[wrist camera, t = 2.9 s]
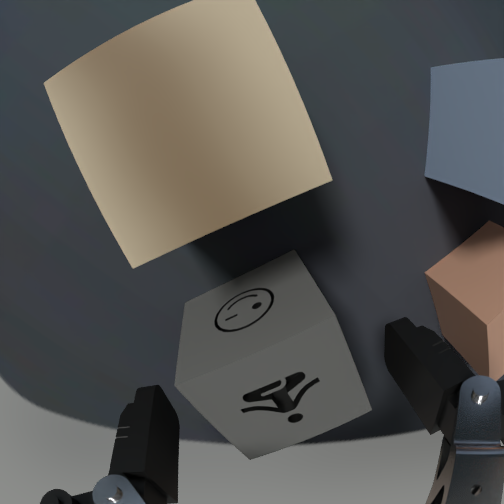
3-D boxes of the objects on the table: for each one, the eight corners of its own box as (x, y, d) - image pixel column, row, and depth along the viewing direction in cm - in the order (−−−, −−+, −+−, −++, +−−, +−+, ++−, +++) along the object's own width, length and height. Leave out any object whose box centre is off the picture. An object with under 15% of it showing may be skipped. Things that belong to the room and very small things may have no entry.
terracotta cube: (488, 220, 14) (555, 254, 9) (498, 286, 15) (550, 326, 11) (423, 271, 14) (486, 325, 10) (441, 333, 16) (489, 387, 11)
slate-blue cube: (498, 96, 11) (572, 102, 6) (491, 187, 13) (562, 216, 8) (430, 67, 11) (512, 57, 6) (423, 176, 12) (504, 204, 8)
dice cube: (293, 248, 13) (335, 315, 8) (332, 335, 15) (372, 410, 10) (185, 301, 13) (174, 385, 9) (239, 377, 15) (249, 459, 10)
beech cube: (233, 39, 10) (245, -17, 5) (286, 159, 12) (332, 180, 7) (108, 98, 10) (43, 82, 5) (163, 214, 12) (132, 268, 7)
